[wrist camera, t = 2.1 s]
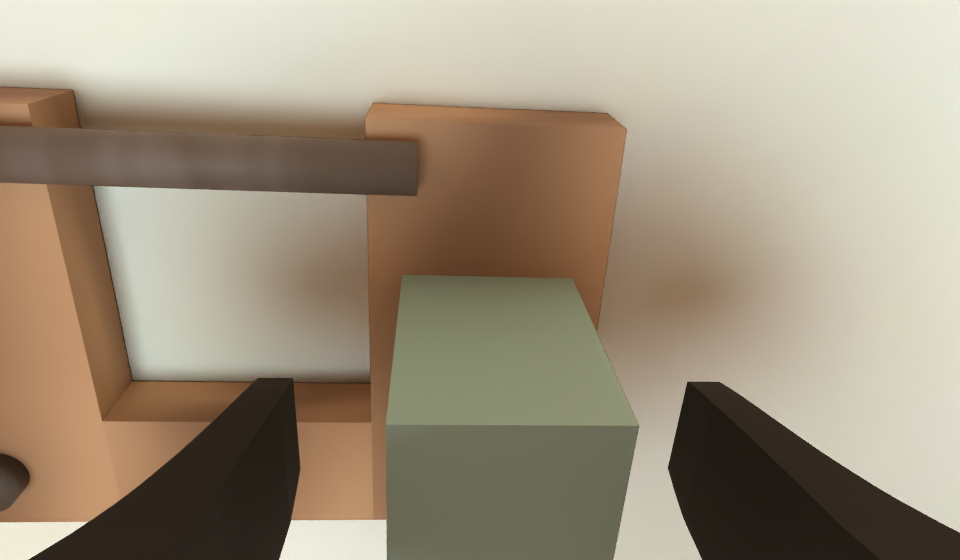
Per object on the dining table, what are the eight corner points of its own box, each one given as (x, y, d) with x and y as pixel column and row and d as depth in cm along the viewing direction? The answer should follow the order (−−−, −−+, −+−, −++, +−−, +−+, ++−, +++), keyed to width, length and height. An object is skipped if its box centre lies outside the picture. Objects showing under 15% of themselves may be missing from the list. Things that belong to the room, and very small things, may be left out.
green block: (572, 278, 14) (639, 426, 9) (554, 416, 15) (605, 600, 11) (402, 274, 14) (385, 424, 9) (401, 415, 15) (387, 604, 11)
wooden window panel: (607, 113, 14) (641, 140, 12) (558, 474, 18) (576, 549, 16) (-195, 78, 13) (-338, 102, 10) (-48, 476, 17) (-126, 556, 15)
